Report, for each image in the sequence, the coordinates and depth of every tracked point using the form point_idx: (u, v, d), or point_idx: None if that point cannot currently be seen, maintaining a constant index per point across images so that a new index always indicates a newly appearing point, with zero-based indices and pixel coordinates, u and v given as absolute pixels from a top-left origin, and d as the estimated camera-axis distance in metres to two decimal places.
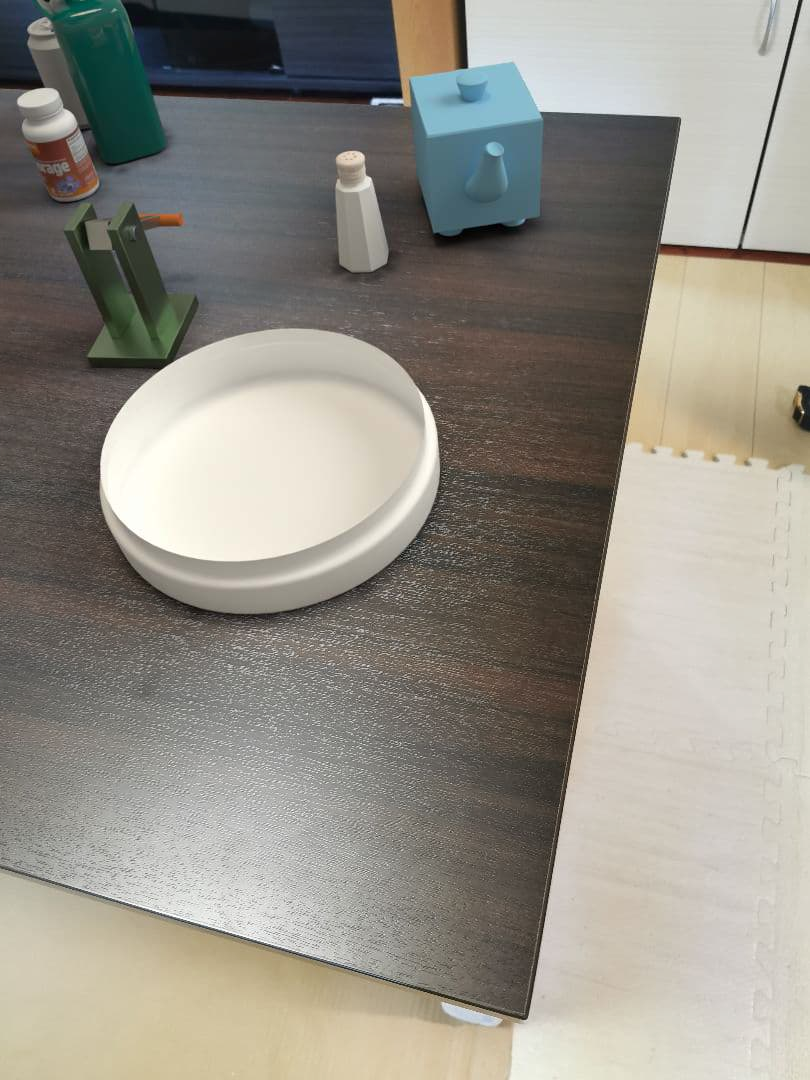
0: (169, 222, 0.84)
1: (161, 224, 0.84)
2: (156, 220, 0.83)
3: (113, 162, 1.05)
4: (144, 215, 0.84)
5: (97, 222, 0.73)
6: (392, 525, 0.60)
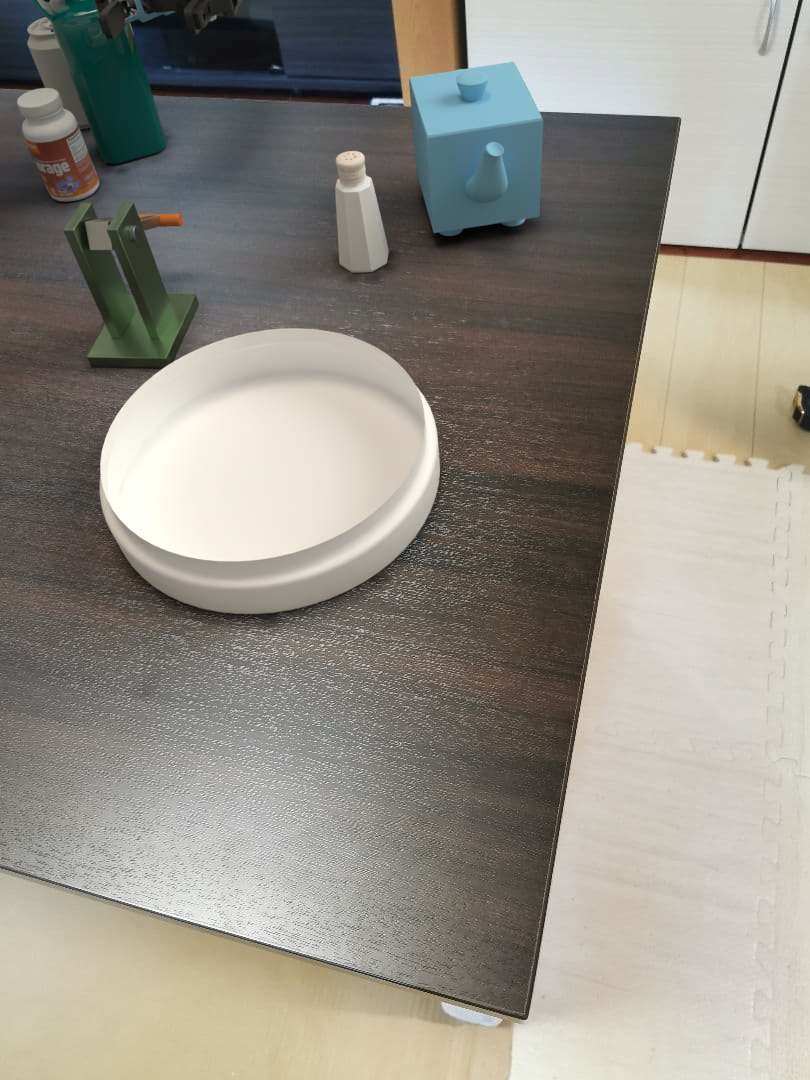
0: (169, 222, 0.84)
1: (161, 224, 0.84)
2: (156, 220, 0.83)
3: (113, 162, 1.05)
4: (144, 215, 0.84)
5: (97, 222, 0.73)
6: (392, 525, 0.60)
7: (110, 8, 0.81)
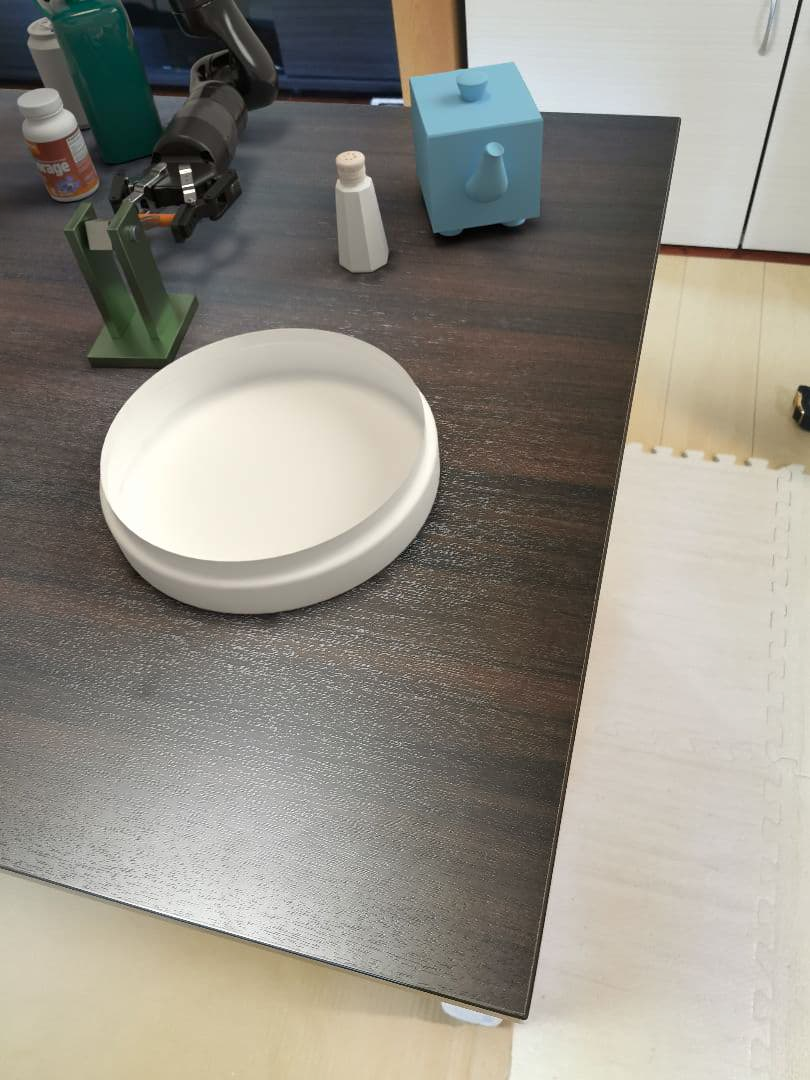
0: (169, 222, 0.84)
1: (161, 224, 0.84)
2: (156, 220, 0.83)
3: (113, 162, 1.05)
4: (144, 215, 0.84)
5: (97, 222, 0.73)
6: (392, 525, 0.60)
7: None
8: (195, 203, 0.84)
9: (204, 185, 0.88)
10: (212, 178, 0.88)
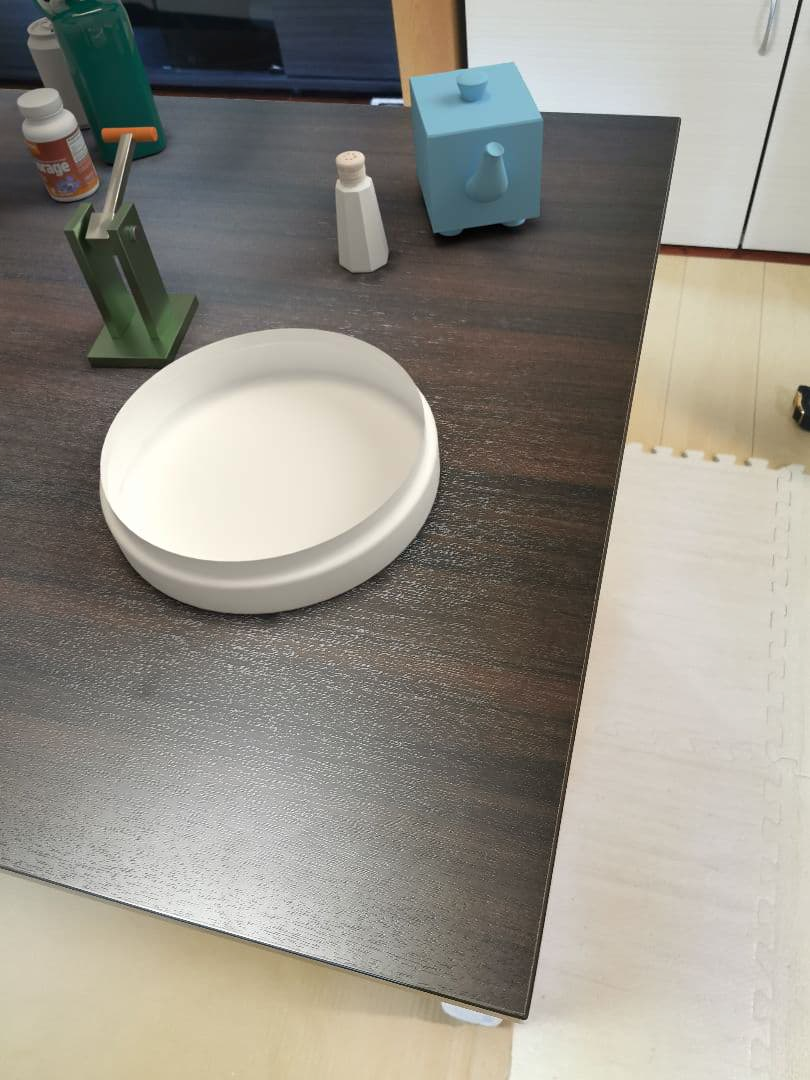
0: (143, 140, 0.78)
1: (135, 140, 0.78)
2: (131, 146, 0.77)
3: (113, 162, 1.05)
4: (114, 133, 0.78)
5: (98, 238, 0.73)
6: (392, 525, 0.60)
7: None
8: None
9: None
10: None
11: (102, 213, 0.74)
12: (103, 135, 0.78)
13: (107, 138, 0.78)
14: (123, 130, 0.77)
